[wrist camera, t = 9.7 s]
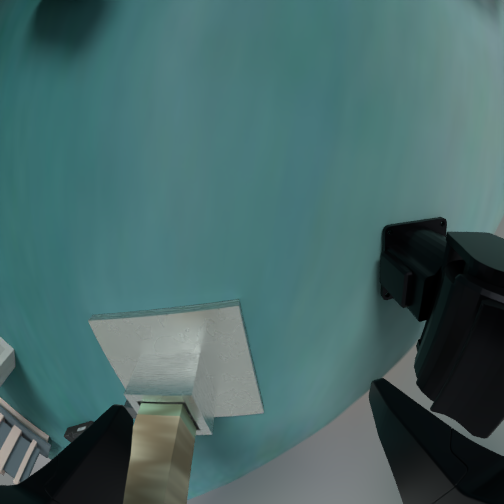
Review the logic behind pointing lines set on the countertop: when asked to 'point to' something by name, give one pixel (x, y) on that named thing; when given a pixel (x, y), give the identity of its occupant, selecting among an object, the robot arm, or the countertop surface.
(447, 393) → the robot arm
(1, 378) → the grey block
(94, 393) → the countertop surface
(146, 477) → the column
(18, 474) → the desk lamp
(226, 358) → the stand
